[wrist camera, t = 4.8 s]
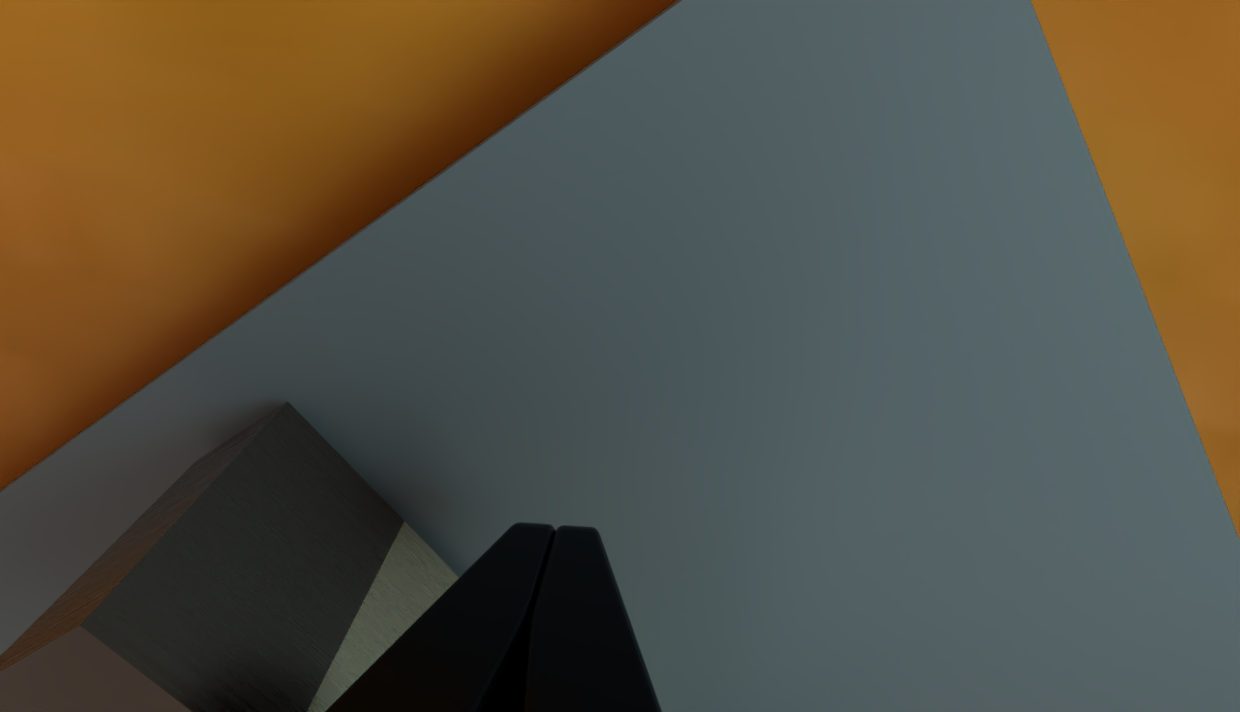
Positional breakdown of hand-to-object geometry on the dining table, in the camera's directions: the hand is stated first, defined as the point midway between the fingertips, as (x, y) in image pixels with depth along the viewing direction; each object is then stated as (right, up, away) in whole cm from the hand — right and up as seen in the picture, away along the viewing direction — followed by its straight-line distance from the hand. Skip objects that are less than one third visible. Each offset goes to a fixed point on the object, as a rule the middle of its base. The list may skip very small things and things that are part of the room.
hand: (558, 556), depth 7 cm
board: (-1, -5, +6) cm, 8 cm away
